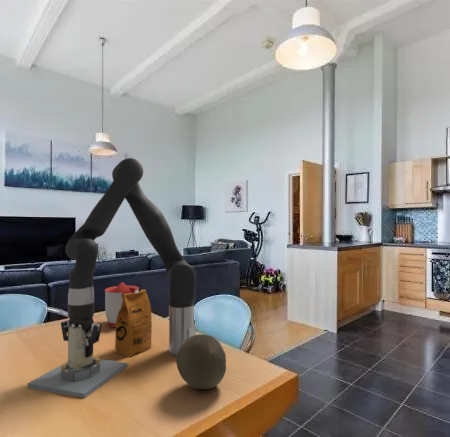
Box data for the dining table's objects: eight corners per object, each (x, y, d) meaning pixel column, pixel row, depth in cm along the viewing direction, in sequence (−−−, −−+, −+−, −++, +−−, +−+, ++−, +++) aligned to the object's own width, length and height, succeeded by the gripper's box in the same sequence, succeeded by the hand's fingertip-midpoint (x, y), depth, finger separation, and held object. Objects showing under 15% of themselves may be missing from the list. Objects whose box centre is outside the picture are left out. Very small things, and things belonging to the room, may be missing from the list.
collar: (106, 367, 103) (106, 356, 103) (82, 383, 92) (82, 371, 92) (79, 362, 106) (79, 353, 106) (52, 378, 95) (52, 367, 95)
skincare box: (75, 370, 95) (75, 330, 96) (67, 366, 98) (67, 327, 98) (93, 362, 101) (94, 324, 101) (85, 359, 103) (86, 321, 103)
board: (127, 366, 106) (127, 362, 106) (84, 398, 87) (84, 393, 87) (78, 359, 111) (78, 355, 111) (27, 387, 92) (27, 383, 92)
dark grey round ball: (201, 372, 102) (201, 325, 102) (236, 386, 93) (235, 334, 93) (167, 390, 91) (167, 337, 91) (202, 408, 82) (202, 349, 82)
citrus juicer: (114, 333, 138) (114, 287, 139) (99, 323, 151) (99, 282, 152) (146, 325, 149) (146, 282, 149) (130, 317, 162) (130, 278, 162)
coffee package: (111, 351, 118) (111, 292, 118) (139, 342, 128) (139, 287, 128) (127, 358, 112) (127, 296, 112) (155, 347, 122) (155, 290, 122)
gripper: (108, 300, 101) (107, 353, 101) (71, 297, 105) (71, 348, 105) (91, 305, 94) (91, 363, 94) (53, 302, 98) (53, 357, 98)
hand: (80, 355), depth 99 cm, fingers closed on skincare box, 5 cm apart
